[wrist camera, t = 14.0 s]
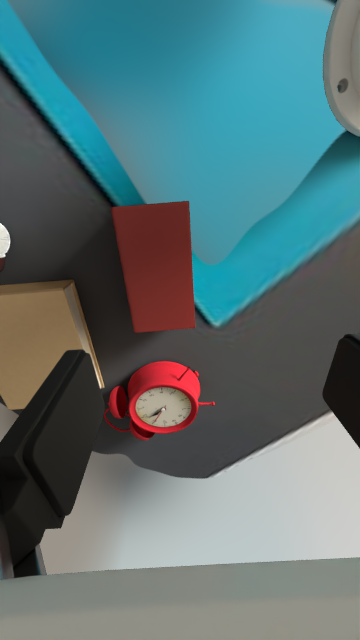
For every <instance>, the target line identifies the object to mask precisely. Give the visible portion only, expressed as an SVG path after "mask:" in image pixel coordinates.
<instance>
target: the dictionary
mask: <svg viewBox="0 0 360 640" xmlns="http://www.w3.org/2000/svg"><path fill="white" fill-rule="evenodd" d="M111 212H112V217H113V223H114V228H115V233H116V239H117V244H118V249H119V255H120V260H121V265H122V270H123V276H124V281H125V286H126V292H127V297H128V302H129V308H130V313H131V318H132V323H133V329H134V333H138V332H150V331H162V330H174V329H187V328H195V314H194V293H193V272H192V252H191V232H190V212H189V201H182V202H170V203H158V204H145V205H133V206H121V207H111Z"/></svg>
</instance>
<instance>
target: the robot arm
mask: <svg viewBox="0 0 360 640" xmlns="http://www.w3.org/2000/svg"><path fill="white" fill-rule="evenodd" d="M323 80H324V87H325V94H326V97H327V100H328V103H329V106H330V109H331V111H332V112H333V114H334V116H335V117H336V119H337V121H338V122H339V123H340V124H341V125H342V126H343V127H344V128H345V129H346V130H347V131H349V132H351V133H353V134H355V135H356V136H360V0H337V2H336V5H335V7H334V10H333V13H332V16H331V20H330V23H329V27H328V31H327V34H326V41H325V48H324V54H323ZM337 88H338V90H337ZM323 398H324V400H325V402H326V403H327V405H328V406H329V407H330V409H331V410H332V412H333V413H334V414H335V416H336V417H337V418H338V420H339V421H340V422H341V424H342V425H343V426H344V428H345V429H346V430H347V432H348V433H349V434H350V436H351V437H352V439H353V440H354V441H355V443H356V444H357V445H358V447H359V448H360V334H347V335H345V336H344V337H343V338H342V339H340V340H339V342H338V345H337V348H336V351H335V355H334V358H333V361H332V364H331V367H330V370H329V373H328V376H327V379H326V382H325V386H324V389H323ZM104 412H105V403H104V399H103V396H102V393H101V389H100V386H99V382H98V379H97V376H96V372H95V369H94V365H93V362H92V359H91V355H90V354H89V353H86V352H85V350H83V349H78V350H67V351H66V352H65V353H64V354H63V356H62V357H61V358H60V360H59V361H58V362H57V364H56V365H55V367H54V368H53V369H52V371H51V372H50V374H49V375H48V376H47V378H46V379H45V381H44V382H43V383H42V385H41V386H40V388H39V389H38V390H37V392H36V393H35V395H34V396H33V397H32V399H31V400H30V402H29V403H28V404H27V406H26V407H25V409H24V410H23V411H22V413H21V414H20V415H19V417H18V418H17V420H16V421H15V422H14V424H13V425H12V427H11V428H10V430H9V431H8V432H7V434H6V435H5V436H4V438H3V439H2V441H1V442H0V640H360V558H340V559H320V560H298V561H278V562H257V563H236V564H216V565H199V566H181V567H161V568H142V569H124V570H105V571H92V572H80V573H66V574H54V575H53V574H52V575H47V574H46V570H45V566H44V561H43V557H42V553H41V549H40V545H39V543H40V542H41V539H42V537H43V534H44V531H45V529H55V528H61V527H62V524H63V520H64V518H65V516H67V515H69V514H70V513H71V511H72V509H73V506H74V503H75V500H76V497H77V494H78V491H79V488H80V485H81V482H82V479H83V476H84V473H85V470H86V466H87V464H88V460H89V458H90V455H91V452H92V449H93V446H94V443H95V440H96V437H97V433H98V430H99V427H100V424H101V421H102V418H103V415H104Z"/></svg>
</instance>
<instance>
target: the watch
mask: <svg viewBox="0 0 360 640" xmlns="http://www.w3.org/2000/svg"><path fill="white" fill-rule="evenodd" d="M9 246H10V236H9V233H8V231H7V230H6V228H5V227H4V226H3V225H2V224H1V223H0V272H1V271H2V270H3V268H4V264H5V259H4V257H5V254H4V253H6V252H7V251H8V249H9Z"/></svg>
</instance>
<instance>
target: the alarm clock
mask: <svg viewBox="0 0 360 640" xmlns="http://www.w3.org/2000/svg"><path fill="white" fill-rule="evenodd" d="M197 377H199V374H198V373H197V372H195V373H193V372H192V371H191V370H190V367H185V366H183V365H181V364H178V363H175V362H169V361H159V362H153V363H150V364H147V365H145V366H143V367H141V368H140V369H138V370H137V371H136V372H135V373H134V374H133V375H132V377H131V379H130V381H129V384H128V396H129V399H130V400H129V404H128V407H127V398H126V393H125V391H124V388H123V387H122V386H117V387H115V388H114V389H113V390H112V391H111V394H110V398H109V403H108V405H109V406H110V407H109V408H108V409H107V410H106V411H105V412H104V418H105V420H106V422H107V423H108V424H109V425H110V426H112V427H113V428H114V429H116V430H118V431H123V432H124V431H130V430H131V432H132V434H133V435H134V436H135V437H136V438H138V439H140V440H148V439H150V438H151V437H152V436H153V435H154V433H173V432H177V431H180V430H182V429H184V428H186V427H187V426H189V425H190V424H191V423H192V422H193V420H194V419H195V417H196V415H197V411H198V405H211V404H212V405H215V403H214V402H212V403H198V398H199V395H200V384H199V381H198V379H197ZM109 409H110V411H111V413H112V414H113V416H114V417H116V418H124V416H125V414H126V410H127V409H129V414H128V413H127V414H126V415H127V416H128V417H129V416H130V417H131V419H130V424H129V425H130V429H126V430H122V429H119V428H116V427H115V426H113V425H112V424H111V423H110V422H109V421H108V420H107V418H106V413H107V411H108V410H109Z"/></svg>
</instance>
